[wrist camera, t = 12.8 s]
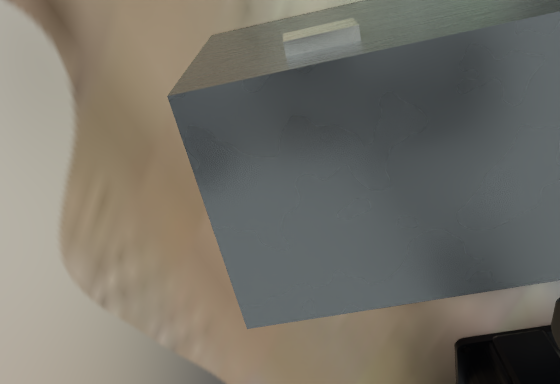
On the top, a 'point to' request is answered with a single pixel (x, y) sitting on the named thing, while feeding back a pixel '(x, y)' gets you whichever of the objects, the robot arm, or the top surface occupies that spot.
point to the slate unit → (379, 153)
